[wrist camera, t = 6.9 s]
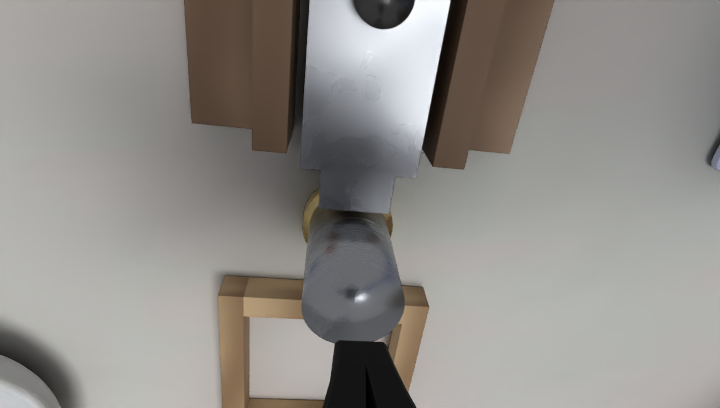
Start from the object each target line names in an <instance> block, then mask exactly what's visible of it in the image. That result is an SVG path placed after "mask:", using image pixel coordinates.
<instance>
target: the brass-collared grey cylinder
mask: <svg viewBox="0 0 720 408" xmlns="http://www.w3.org/2000/svg"><path fill="white" fill-rule="evenodd" d="M319 188H320V187H319ZM319 188H318V189H317V190H316V191H314V192H313V194H312V195H311V196H310V198H309V199H308V201H307V204H306V206H305V210H304V217H303V235H304V238H305V241H306V243H307V252H306V262H305V273H304V283H303V293H302V303H301V310H302V315H303V318H304V320H305V322H306V324H307V326H308V327H309V328H310V329H311V330H312V331H313V332H314V333H315V334H316V335H318V336H319V337H321V338H322V339H324V340H326V341H329V342H332V343H336V342H337V341H339V340H349V341H371V342H373V341H376V340H378V339H380V338H382V337H384V336H385V335H387V334H388V333H389V332H391V331H392V330H393V329H394V328H395V327H396V325H397V324H398V323H399V321H400V320H401V318H402V315H403V313H404V309H405V297H404V293H403V289H402V285H401V281H400V277H399V273H398V269H397V264H396V260H395V256H394V252H393V248H392V244H391V240H390V237H391V233H392V227H393V223H392V217H391V213H390V211H389V214H384V213H371V212H358V211H345V210H332V209H319V208H318V204H319Z"/></svg>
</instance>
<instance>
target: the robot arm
mask: <svg viewBox="0 0 720 408" xmlns="http://www.w3.org/2000/svg"><path fill="white" fill-rule="evenodd" d="M711 165H712V167H713V168H714V169H717V170H719V171H720V145H719V147H718V149H717V151H716V153H715V155H714V157H713V159H712V162H711ZM322 408H416V406H415V404H414V402H413V400H412V399H411V397H410V395H409V393H408V391H407V389H406V387H405V385H404V383H403V381H402V379H401V377H400V375H399V373H398V371H397V369H396V367H395V365H394V362H393V360H392V358H391V355H390V353H389V351H388V348H387V345H386V344H385V343H384V342H371V341H349V340H339V341H337V342H336V343H335V347H334V355H333V362H332V370H331V378H330V383H329V387H328V390H327V393H326V397H325V400H324V404H323V407H322Z"/></svg>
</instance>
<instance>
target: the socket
mask: <svg viewBox="0 0 720 408" xmlns="http://www.w3.org/2000/svg"><path fill="white" fill-rule="evenodd" d="M553 4H554V0H450V6H449V11H448V16H447V21H446V26H445V31H444V36H443V42H442V47H441V52H440V57H439V62H438V67H437V72H436V78H435V83H434V88H433V93H432V98H431V103H430V108H429V114H428V119H427V124H426V129H425V134H424V139H423V144H422V149H423V151H424V153H425V154H426V156H427V158H428V159H429V161H430V163H431V164H432V166H433V167H441V168H452V169H463V170H464V167H465V163H466V159H467V155H468V151H469V150H475V151H485V152H495V153H506V154H509V153H510V150H511V146H512V143H513V140H514V136H515V133H516V129H517V126H518V123H519V119H520V116H521V112H522V109H523V106H524V102H525V99H526V95H527V92H528V89H529V85H530V82H531V78H532V75H533V72H534V68H535V65H536V62H537V58H538V55H539V51H540V48H541V45H542V41H543V38H544V34H545V31H546V28H547V24H548V21H549V17H550V14H551V11H552V7H553ZM184 6H185V23H186V39H187V55H188V71H189V87H190V103H191V119H192V123H196V124H206V125H217V126H227V127H237V128H248V129H252V150H255V151H266V152H277V153H287V149H288V146H289V142H290V139H291V135H292V132H293V128H294V120H295V100H296V80H297V60H298V40H299V20H300V0H184Z"/></svg>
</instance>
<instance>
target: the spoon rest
mask: <svg viewBox="0 0 720 408" xmlns="http://www.w3.org/2000/svg"><path fill="white" fill-rule="evenodd" d="M0 408H61V407H60V405H59V402H58V401H57V399H56V397H55V395H54V394H53V393H52V391H51V390H50V389H49V388H48V386H47V385H46V384H45V383H44V382H43V381H42V380H41V379H40V378H39V377H38V376H37V375H35V374H34V373H33V372H31V371H30V370H29V369H27V368H26V367H24V366H23V365H21V364H19V363H18V362H16V361H14V360H12V359H10V358H8V357H5V356H2V355H0Z"/></svg>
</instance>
